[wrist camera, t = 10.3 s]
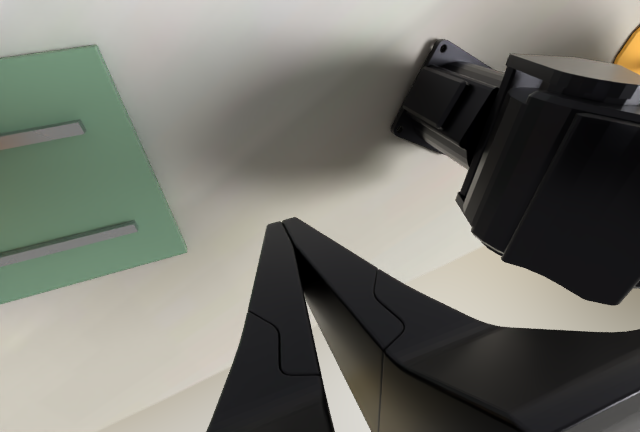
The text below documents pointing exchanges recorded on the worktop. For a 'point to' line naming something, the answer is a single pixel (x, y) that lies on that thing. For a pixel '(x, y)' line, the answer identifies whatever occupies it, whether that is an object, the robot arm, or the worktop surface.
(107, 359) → the worktop surface
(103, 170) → the board
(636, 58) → the cup
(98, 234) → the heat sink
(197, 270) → the worktop surface
